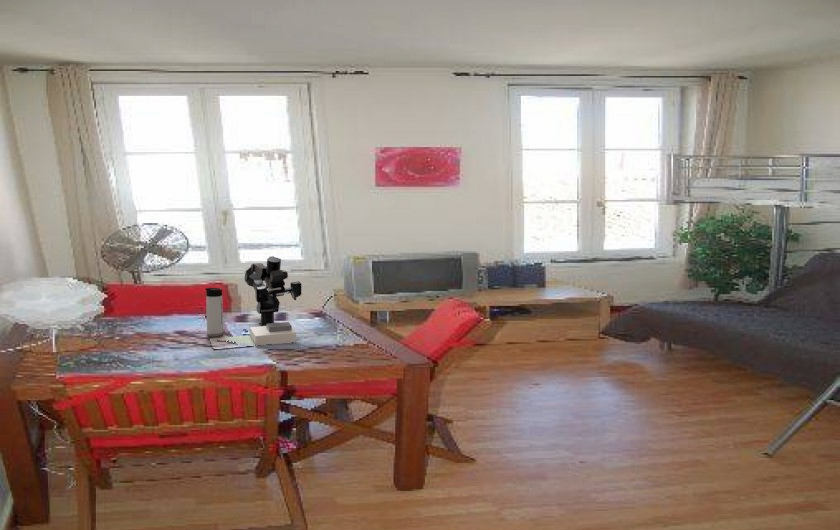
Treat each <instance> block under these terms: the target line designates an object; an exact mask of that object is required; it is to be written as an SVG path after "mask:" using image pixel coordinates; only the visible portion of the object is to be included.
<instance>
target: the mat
mask: <svg viewBox="0 0 840 530" xmlns="http://www.w3.org/2000/svg"><path fill="white" fill-rule="evenodd" d="M220 339H224V340H226V342H227V341H228V340H229V342H231V341H232V342H233V343H234V341H235V342H236V343H242V344H243V343H245V344H246V343H247V344H248V345H251V346H252V345H253V346H254V347H255V344H254V343H253V341H252V339H251V338H250V335H239V336H224V337H213V338H209V341H211V342H214V341H217V340H220ZM211 342H210V343H211Z"/></svg>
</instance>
